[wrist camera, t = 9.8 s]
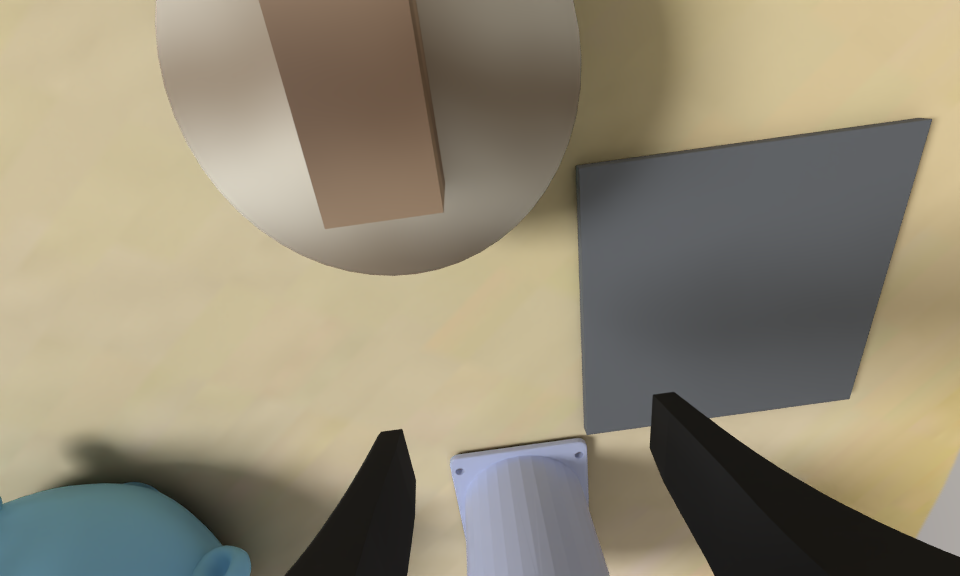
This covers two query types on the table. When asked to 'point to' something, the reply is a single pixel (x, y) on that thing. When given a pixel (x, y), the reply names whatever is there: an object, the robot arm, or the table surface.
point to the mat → (737, 270)
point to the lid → (375, 118)
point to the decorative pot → (110, 535)
